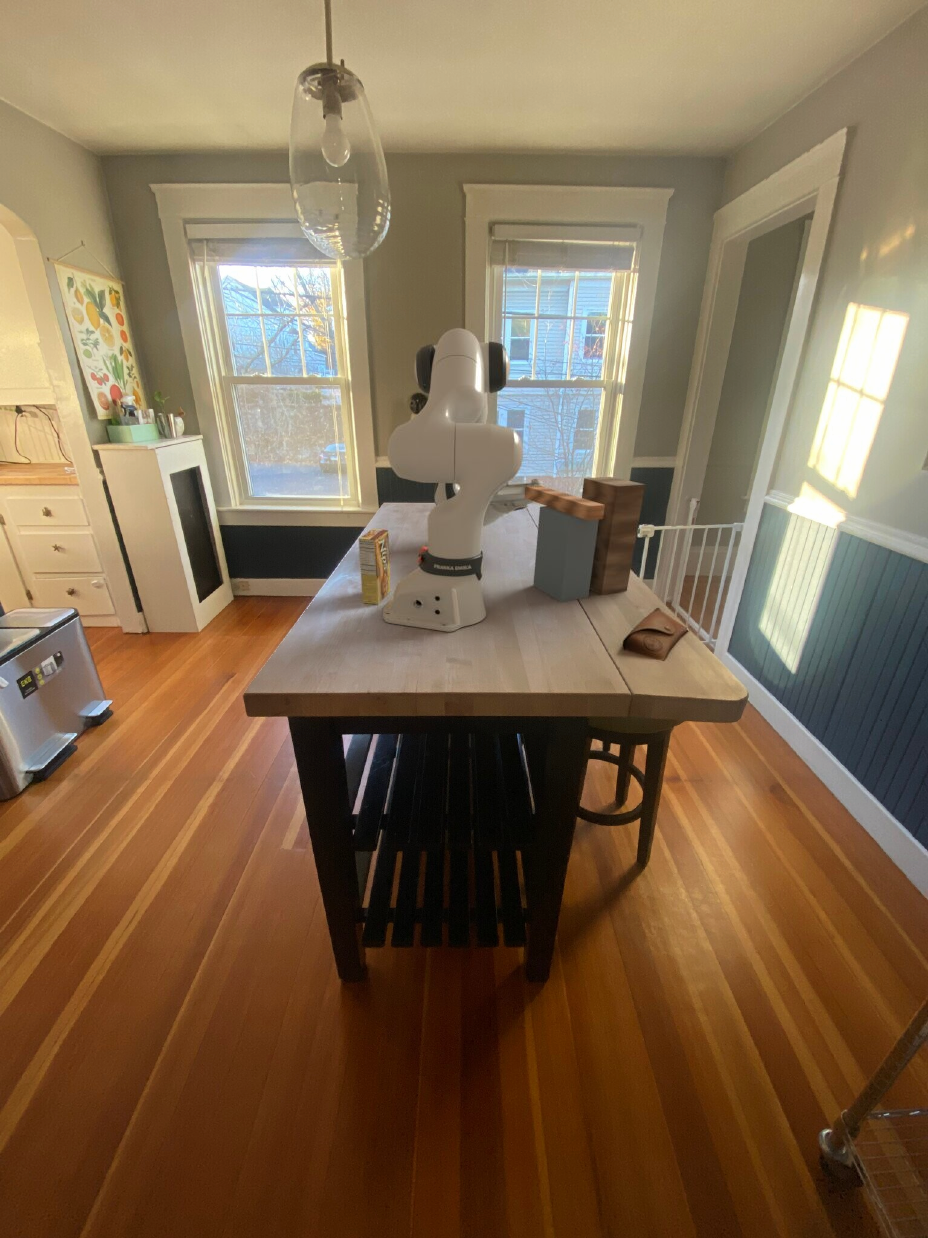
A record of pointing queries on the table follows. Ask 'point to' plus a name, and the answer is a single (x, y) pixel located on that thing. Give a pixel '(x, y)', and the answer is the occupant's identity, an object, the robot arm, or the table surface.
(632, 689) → the table surface
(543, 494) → the bar
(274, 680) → the table surface
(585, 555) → the low stand
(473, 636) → the table surface
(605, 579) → the tall stand
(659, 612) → the sunglasses case
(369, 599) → the candy box
